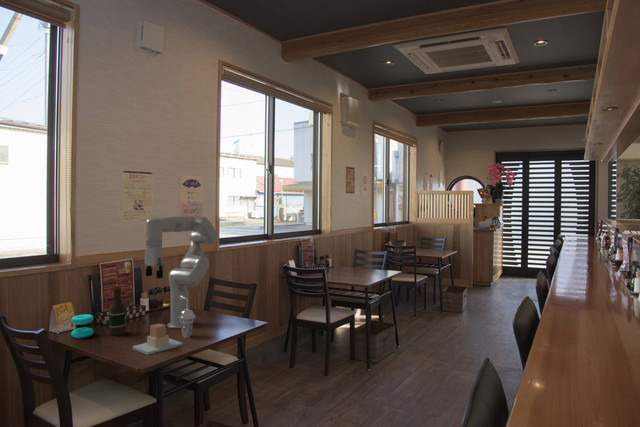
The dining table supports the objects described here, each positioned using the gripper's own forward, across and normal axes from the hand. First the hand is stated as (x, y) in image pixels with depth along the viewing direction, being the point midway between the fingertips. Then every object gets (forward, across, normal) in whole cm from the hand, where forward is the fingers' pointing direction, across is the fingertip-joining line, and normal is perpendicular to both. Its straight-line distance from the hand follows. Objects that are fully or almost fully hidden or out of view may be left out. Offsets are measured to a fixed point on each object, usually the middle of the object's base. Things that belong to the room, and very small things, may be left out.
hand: (154, 277), depth 229 cm
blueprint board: (+30, +17, -8) cm, 36 cm away
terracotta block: (+25, +17, -8) cm, 31 cm away
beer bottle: (+30, -18, -10) cm, 37 cm away
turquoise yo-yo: (+30, -28, -23) cm, 47 cm away
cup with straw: (+30, +12, +11) cm, 34 cm away
